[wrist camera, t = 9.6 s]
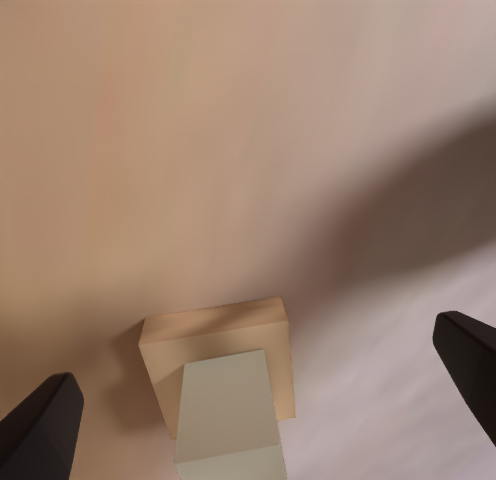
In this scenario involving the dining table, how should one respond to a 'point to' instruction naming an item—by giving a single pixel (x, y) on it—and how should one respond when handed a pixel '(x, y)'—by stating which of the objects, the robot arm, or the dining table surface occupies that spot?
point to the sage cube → (228, 421)
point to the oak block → (217, 349)
